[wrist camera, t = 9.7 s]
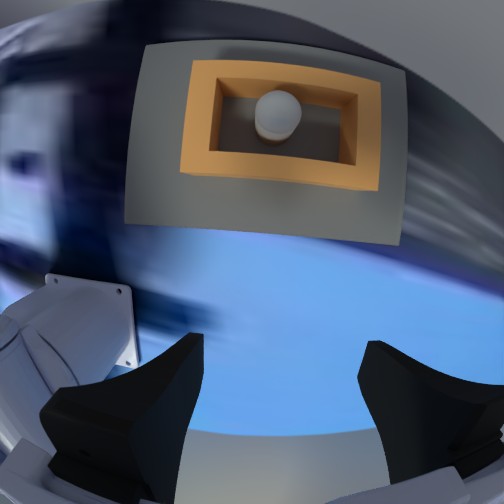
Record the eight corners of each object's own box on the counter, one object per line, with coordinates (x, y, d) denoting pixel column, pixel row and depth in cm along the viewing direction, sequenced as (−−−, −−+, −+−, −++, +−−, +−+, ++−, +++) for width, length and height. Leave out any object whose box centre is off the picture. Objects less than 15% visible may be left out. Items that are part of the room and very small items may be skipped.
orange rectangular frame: (193, 175, 18) (179, 172, 14) (203, 81, 16) (193, 60, 13) (356, 190, 18) (377, 191, 14) (360, 98, 16) (380, 82, 13)
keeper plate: (129, 222, 19) (85, 235, 13) (150, 50, 16) (118, 13, 10) (392, 243, 19) (438, 263, 13) (399, 74, 16) (439, 46, 10)
